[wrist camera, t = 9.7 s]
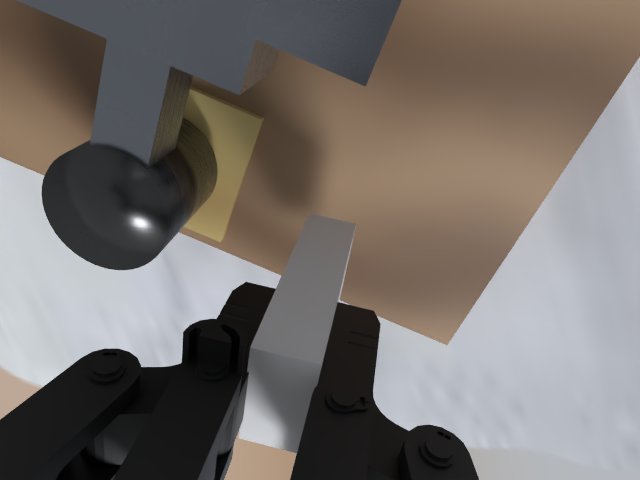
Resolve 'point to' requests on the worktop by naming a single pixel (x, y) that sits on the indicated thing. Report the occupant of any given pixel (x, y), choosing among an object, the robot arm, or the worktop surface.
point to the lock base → (367, 139)
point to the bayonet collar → (180, 105)
